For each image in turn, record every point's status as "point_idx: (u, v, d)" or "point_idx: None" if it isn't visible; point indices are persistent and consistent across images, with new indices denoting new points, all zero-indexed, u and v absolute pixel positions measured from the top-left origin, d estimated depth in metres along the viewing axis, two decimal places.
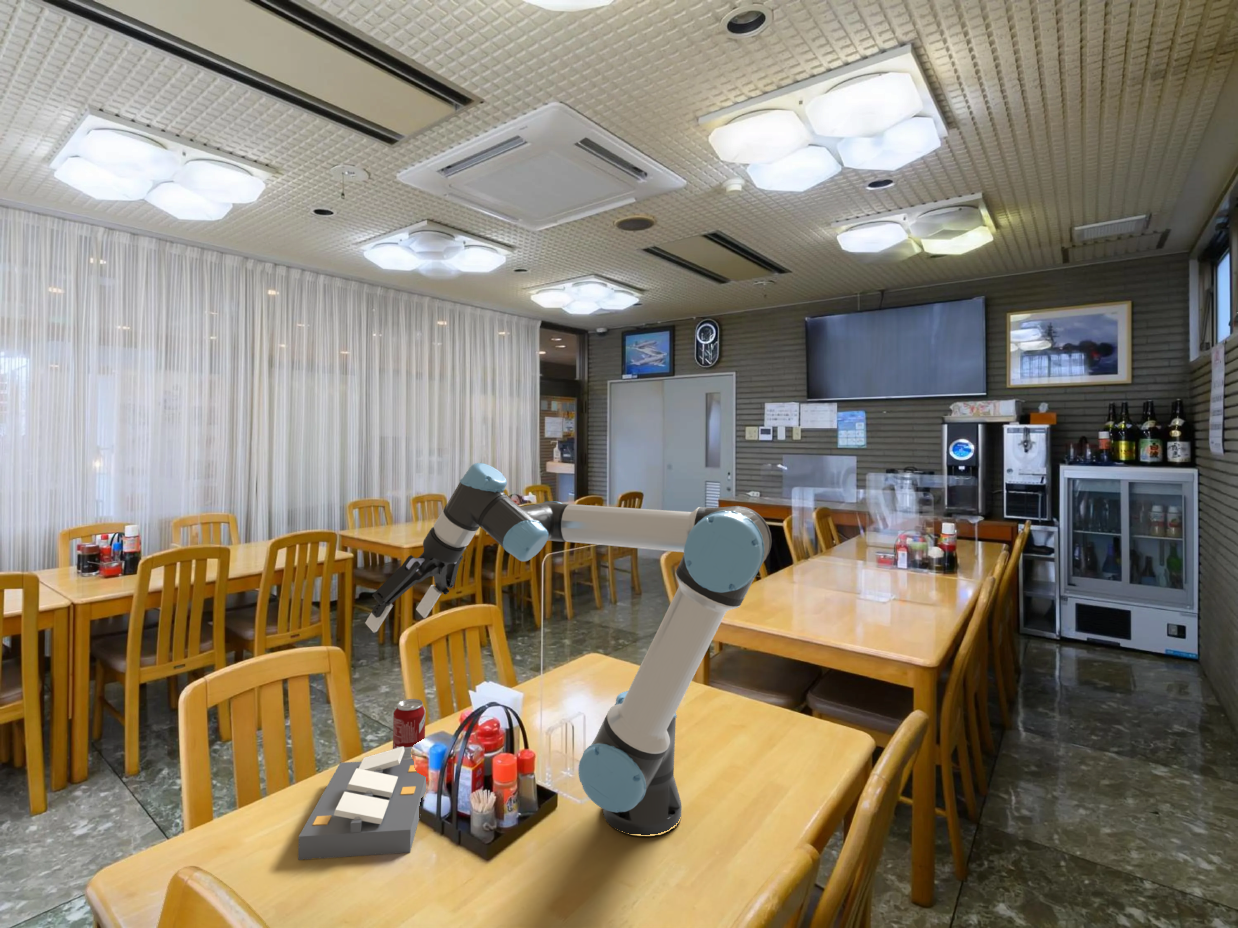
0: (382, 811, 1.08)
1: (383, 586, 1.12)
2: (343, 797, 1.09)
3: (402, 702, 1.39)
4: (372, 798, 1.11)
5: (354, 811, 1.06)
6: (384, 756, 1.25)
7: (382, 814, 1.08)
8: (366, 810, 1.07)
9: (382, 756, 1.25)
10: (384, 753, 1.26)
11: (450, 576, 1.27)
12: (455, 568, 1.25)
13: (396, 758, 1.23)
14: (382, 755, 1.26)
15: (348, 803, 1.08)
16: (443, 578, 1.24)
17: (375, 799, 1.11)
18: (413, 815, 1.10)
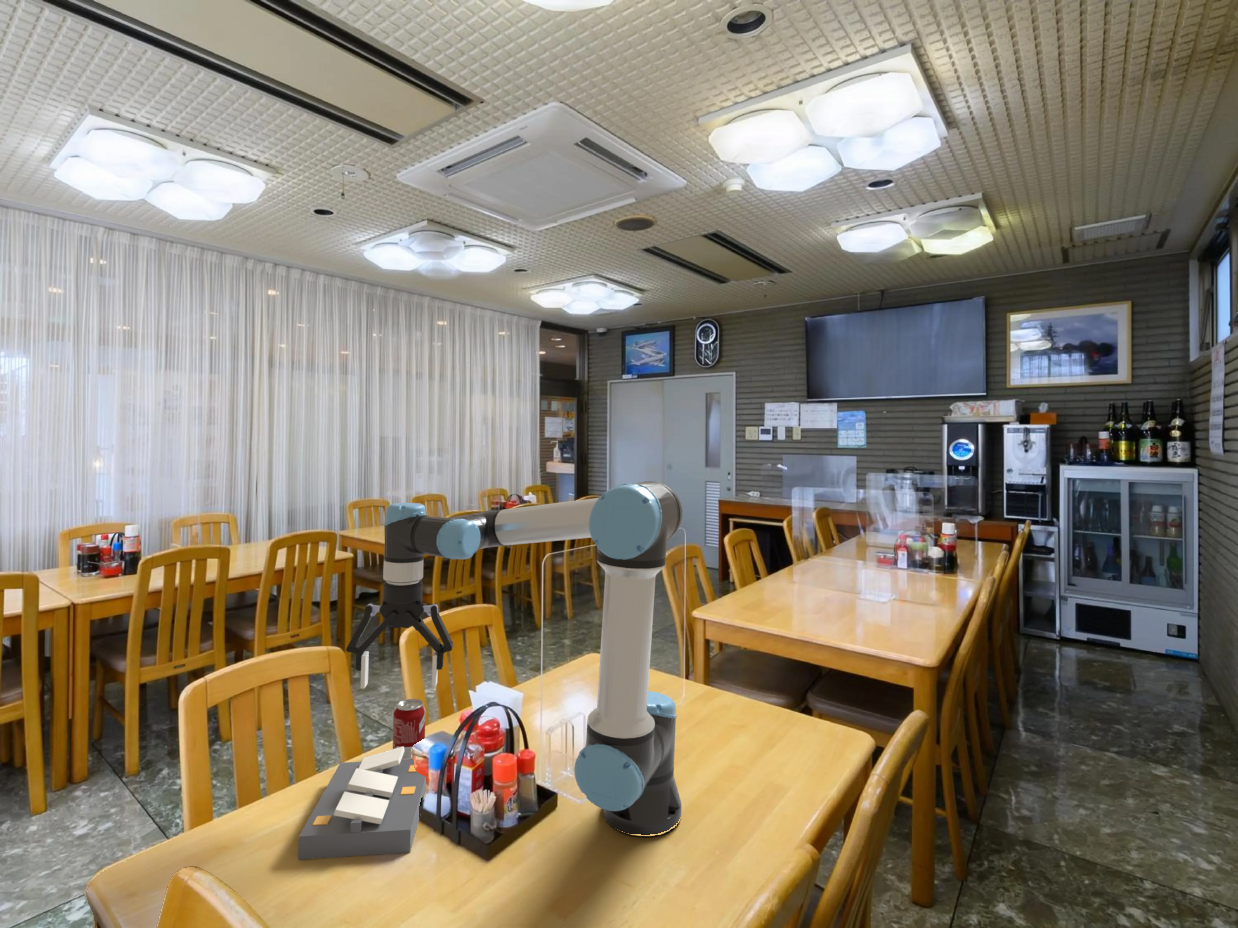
0: (382, 811, 1.08)
1: None
2: (343, 797, 1.09)
3: (402, 702, 1.39)
4: (372, 798, 1.11)
5: (354, 811, 1.06)
6: (384, 756, 1.25)
7: (382, 814, 1.08)
8: (366, 810, 1.07)
9: (382, 756, 1.25)
10: (384, 753, 1.26)
11: None
12: (435, 622, 1.24)
13: (396, 758, 1.23)
14: (382, 755, 1.26)
15: (348, 803, 1.08)
16: (424, 633, 1.23)
17: (375, 799, 1.11)
18: (413, 815, 1.10)
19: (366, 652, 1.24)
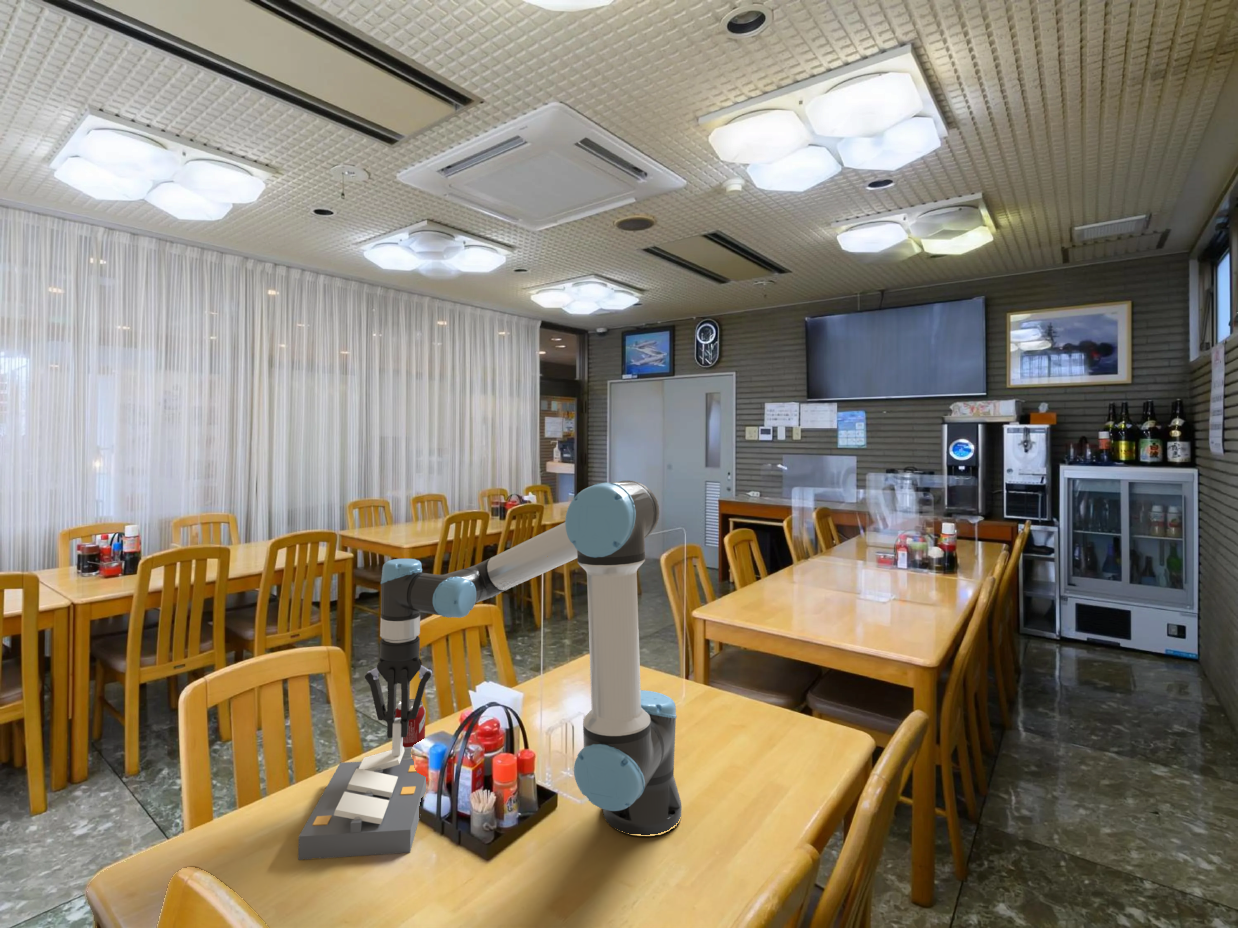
0: (382, 811, 1.08)
1: None
2: (343, 797, 1.09)
3: None
4: (372, 798, 1.11)
5: (354, 811, 1.06)
6: (384, 756, 1.25)
7: (382, 814, 1.08)
8: (366, 810, 1.07)
9: (382, 756, 1.25)
10: (384, 753, 1.26)
11: None
12: (420, 687, 1.24)
13: (396, 758, 1.23)
14: (382, 755, 1.26)
15: (348, 803, 1.08)
16: (404, 696, 1.24)
17: (375, 799, 1.11)
18: (413, 815, 1.10)
19: (397, 719, 1.25)
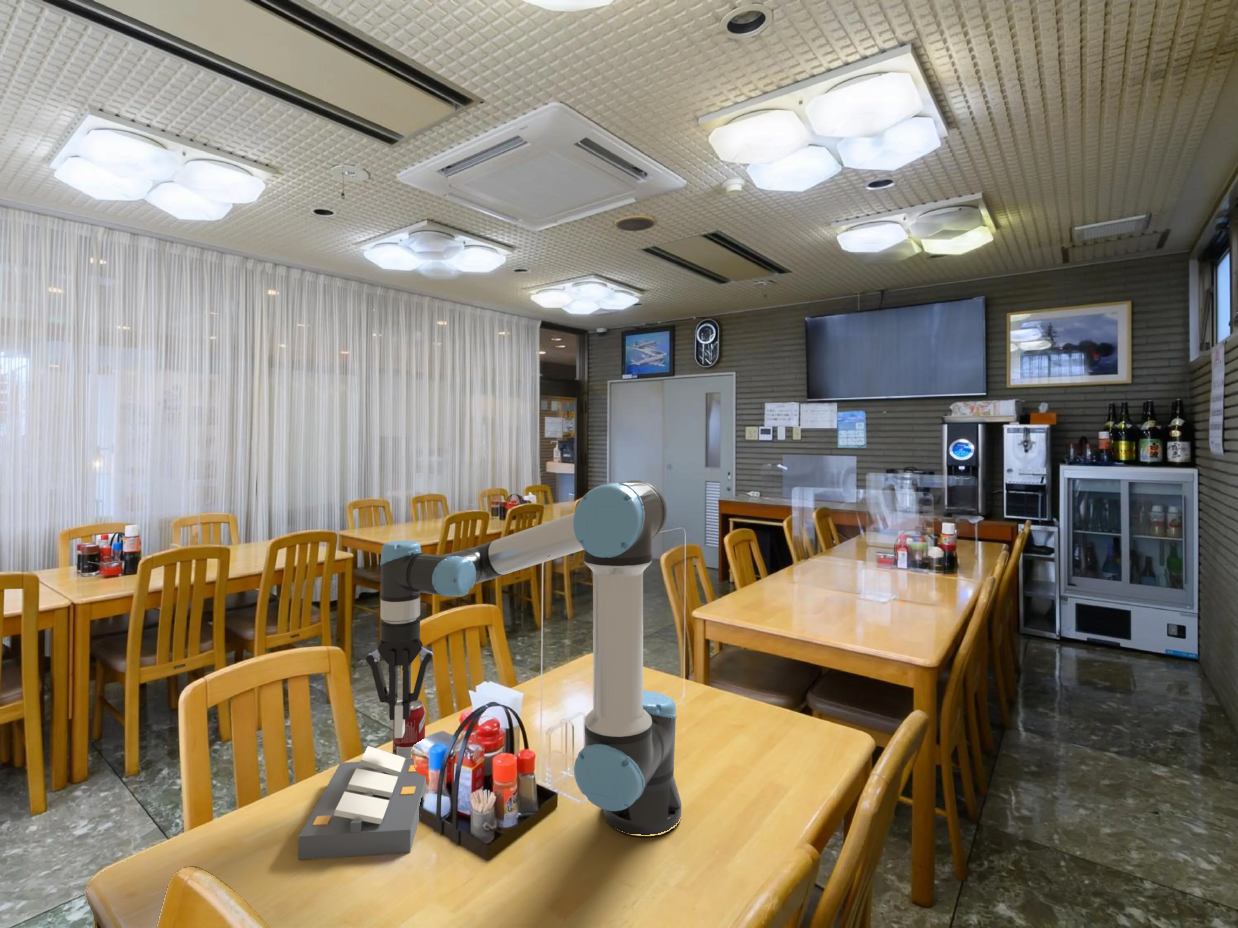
0: (382, 811, 1.08)
1: None
2: (343, 797, 1.09)
3: None
4: (372, 798, 1.11)
5: (354, 811, 1.06)
6: (387, 758, 1.25)
7: (382, 814, 1.08)
8: (366, 810, 1.07)
9: (385, 756, 1.25)
10: (387, 754, 1.26)
11: (416, 680, 1.24)
12: (421, 668, 1.24)
13: (398, 769, 1.23)
14: (385, 755, 1.26)
15: (348, 803, 1.08)
16: (405, 677, 1.23)
17: (375, 799, 1.11)
18: (413, 815, 1.10)
19: (399, 701, 1.25)
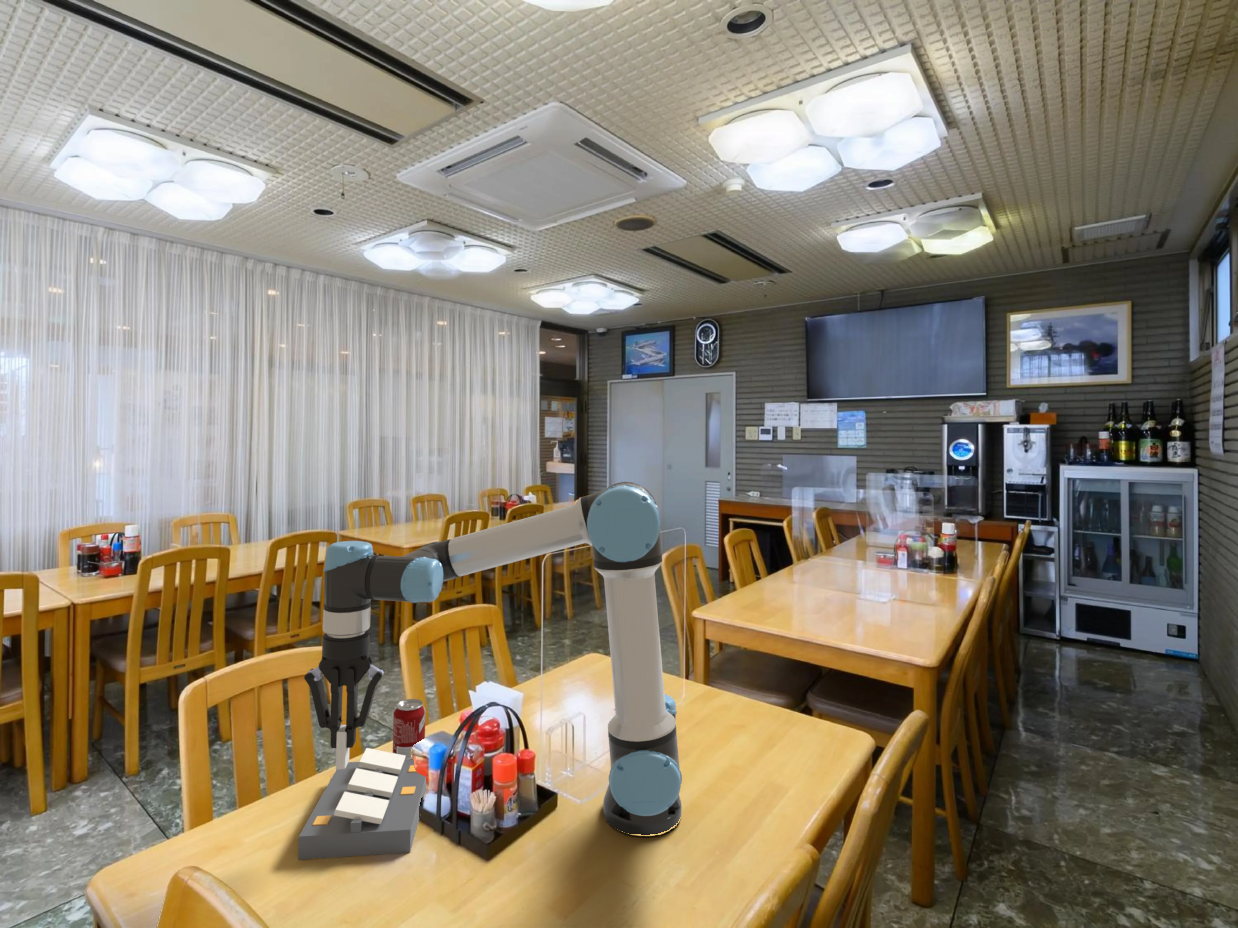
0: (382, 811, 1.08)
1: None
2: (343, 797, 1.09)
3: (402, 702, 1.39)
4: (372, 798, 1.11)
5: (354, 811, 1.06)
6: (387, 757, 1.25)
7: (382, 814, 1.08)
8: (366, 810, 1.07)
9: (385, 756, 1.25)
10: (387, 754, 1.26)
11: (363, 703, 1.07)
12: (369, 689, 1.07)
13: (398, 767, 1.23)
14: (385, 755, 1.26)
15: (348, 803, 1.08)
16: (350, 700, 1.07)
17: (375, 799, 1.11)
18: (413, 815, 1.10)
19: (343, 726, 1.08)
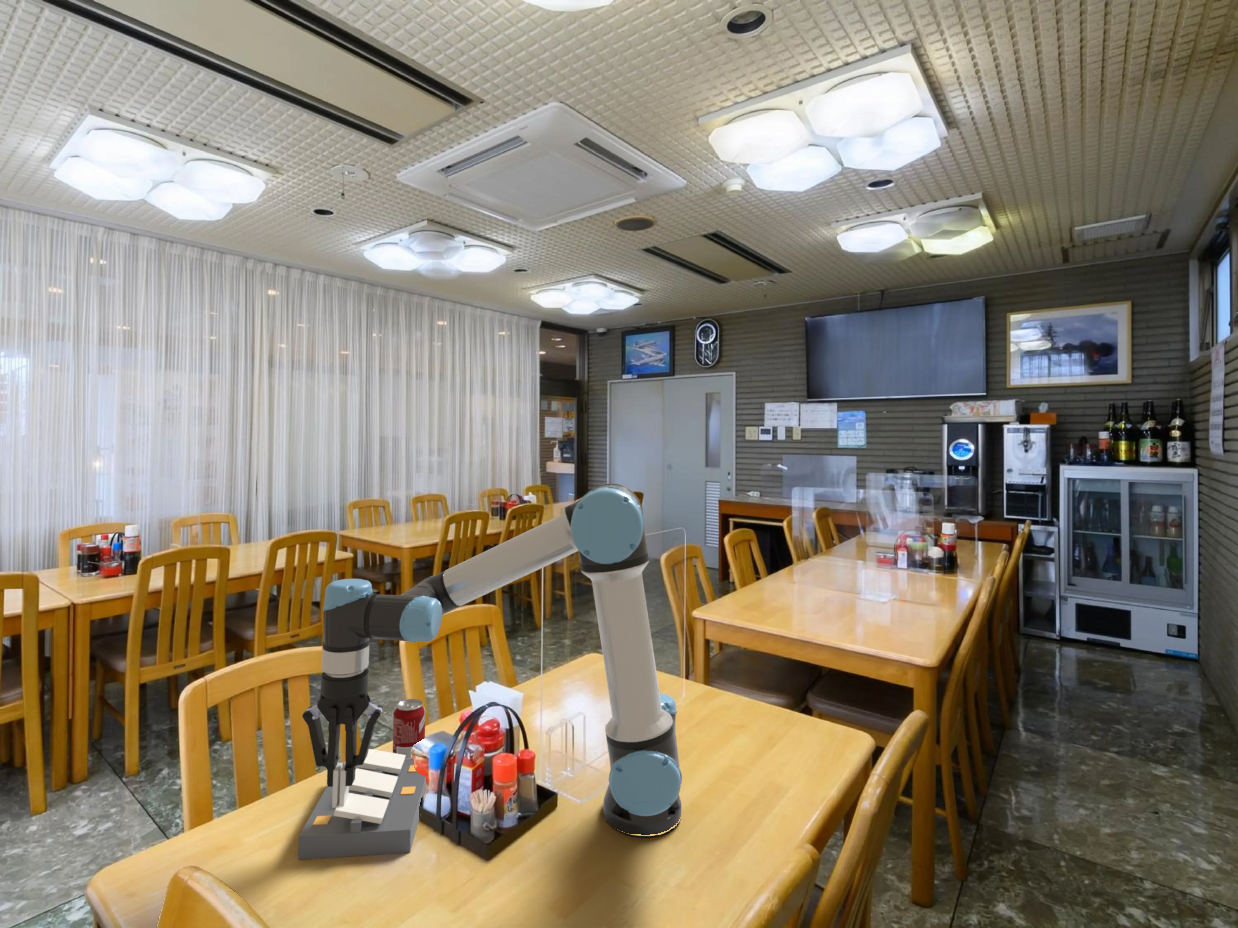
0: (382, 811, 1.08)
1: None
2: None
3: (402, 702, 1.39)
4: (372, 798, 1.11)
5: (354, 811, 1.06)
6: (386, 757, 1.25)
7: (382, 814, 1.08)
8: (366, 810, 1.07)
9: (384, 756, 1.25)
10: (386, 754, 1.26)
11: (362, 741, 1.08)
12: (368, 728, 1.07)
13: (398, 766, 1.23)
14: (384, 755, 1.26)
15: (347, 803, 1.08)
16: (349, 738, 1.07)
17: (375, 799, 1.11)
18: (413, 815, 1.10)
19: (339, 764, 1.09)
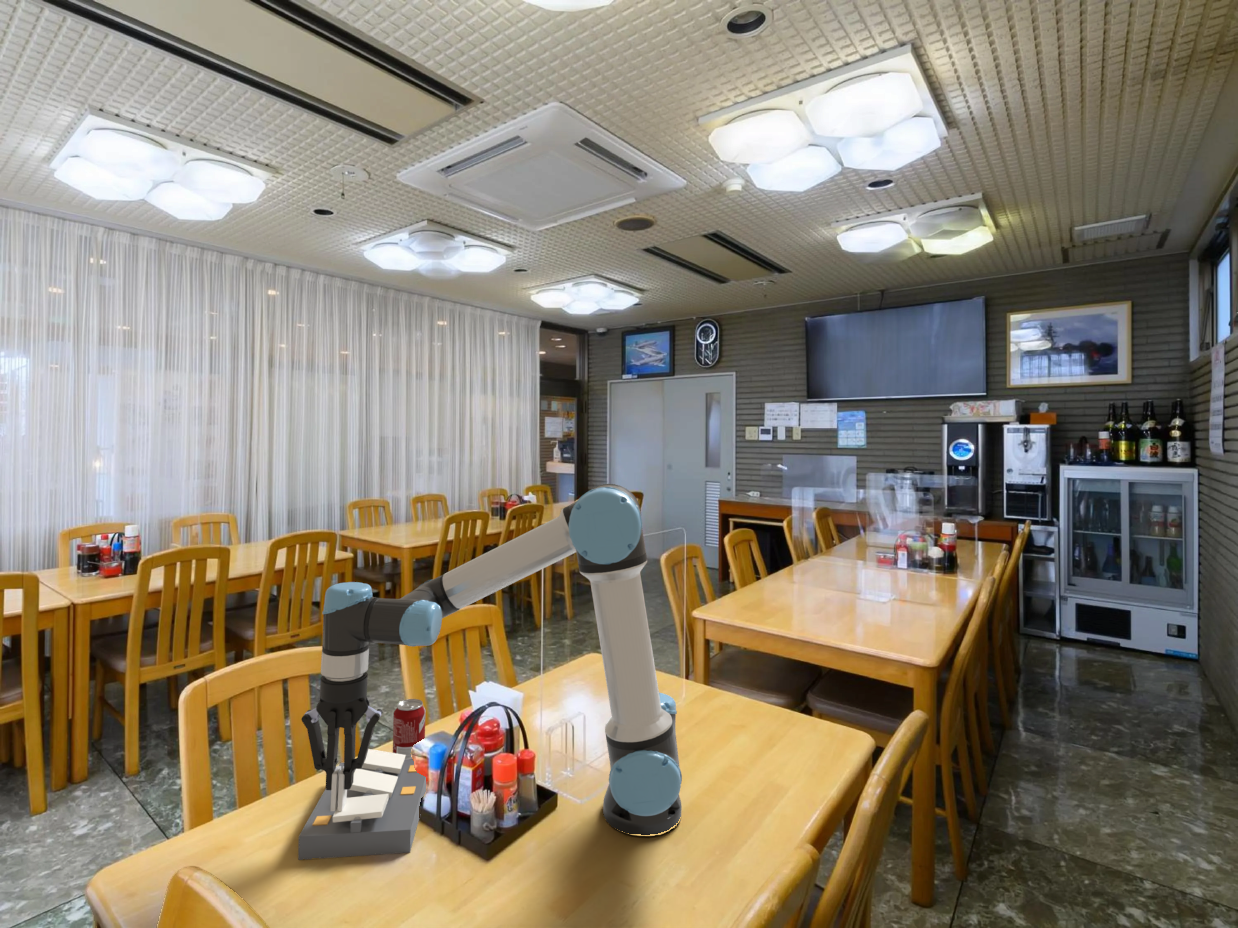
0: (381, 805, 1.08)
1: None
2: None
3: (402, 702, 1.39)
4: (370, 796, 1.11)
5: (352, 813, 1.06)
6: (386, 757, 1.25)
7: (381, 807, 1.08)
8: (364, 808, 1.07)
9: (384, 756, 1.25)
10: (386, 754, 1.26)
11: None
12: (366, 731, 1.07)
13: (398, 766, 1.23)
14: (384, 755, 1.26)
15: (345, 807, 1.08)
16: (348, 742, 1.07)
17: (374, 796, 1.11)
18: (413, 815, 1.10)
19: (338, 767, 1.09)
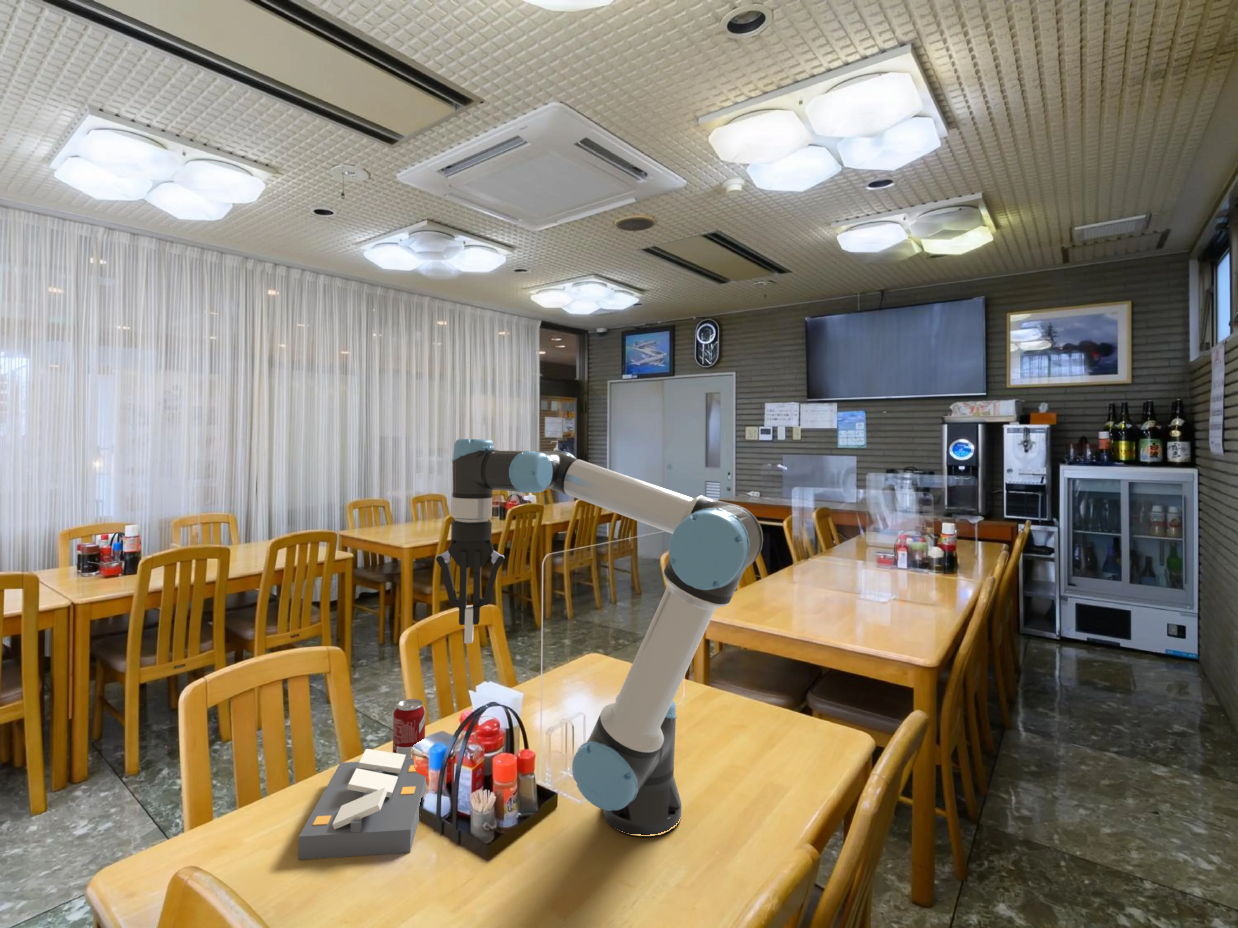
0: (377, 799, 1.08)
1: None
2: (340, 810, 1.09)
3: (402, 702, 1.39)
4: (368, 795, 1.11)
5: (351, 815, 1.06)
6: (386, 757, 1.25)
7: (378, 801, 1.08)
8: (362, 807, 1.07)
9: (384, 756, 1.25)
10: (386, 754, 1.26)
11: (487, 584, 1.19)
12: (493, 571, 1.18)
13: (398, 766, 1.23)
14: (384, 755, 1.26)
15: (344, 812, 1.08)
16: (476, 580, 1.18)
17: (371, 794, 1.11)
18: (413, 815, 1.10)
19: (468, 606, 1.20)
